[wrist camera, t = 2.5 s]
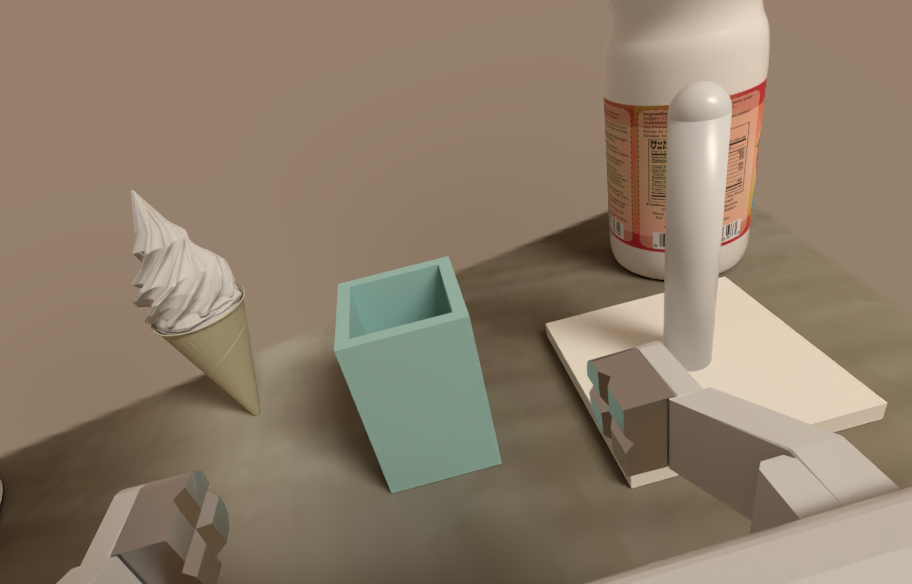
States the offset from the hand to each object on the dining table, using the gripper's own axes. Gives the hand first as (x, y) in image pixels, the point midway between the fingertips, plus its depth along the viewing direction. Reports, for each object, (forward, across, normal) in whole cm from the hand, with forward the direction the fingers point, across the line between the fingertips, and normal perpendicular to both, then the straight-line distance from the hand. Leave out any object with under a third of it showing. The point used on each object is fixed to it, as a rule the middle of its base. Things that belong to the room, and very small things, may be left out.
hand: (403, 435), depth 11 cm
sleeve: (+12, 0, +13) cm, 18 cm away
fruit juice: (+24, -20, +13) cm, 34 cm away
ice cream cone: (+18, +12, +13) cm, 25 cm away
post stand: (+12, -14, +13) cm, 23 cm away
